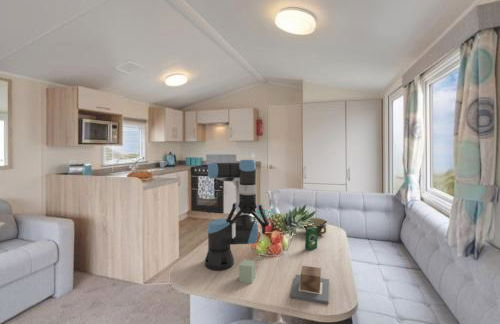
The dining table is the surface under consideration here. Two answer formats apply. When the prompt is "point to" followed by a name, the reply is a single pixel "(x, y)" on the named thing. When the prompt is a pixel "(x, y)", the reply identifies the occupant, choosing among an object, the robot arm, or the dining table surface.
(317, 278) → the walnut block
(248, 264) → the sage brick
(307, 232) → the coffee box
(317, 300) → the grey flat slab
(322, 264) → the dining table surface
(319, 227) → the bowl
